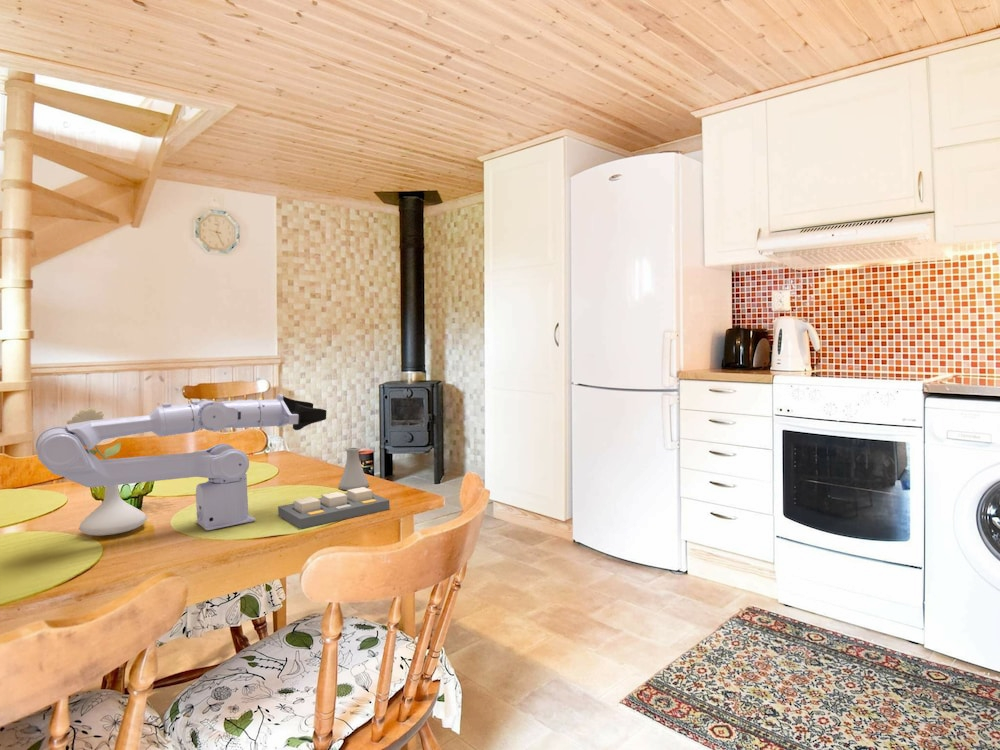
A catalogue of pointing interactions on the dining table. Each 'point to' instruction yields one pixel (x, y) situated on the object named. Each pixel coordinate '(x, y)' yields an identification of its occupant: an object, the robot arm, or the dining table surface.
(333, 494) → the button middle
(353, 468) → the flask
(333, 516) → the button board
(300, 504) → the button near
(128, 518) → the flower in vase
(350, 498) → the button far
